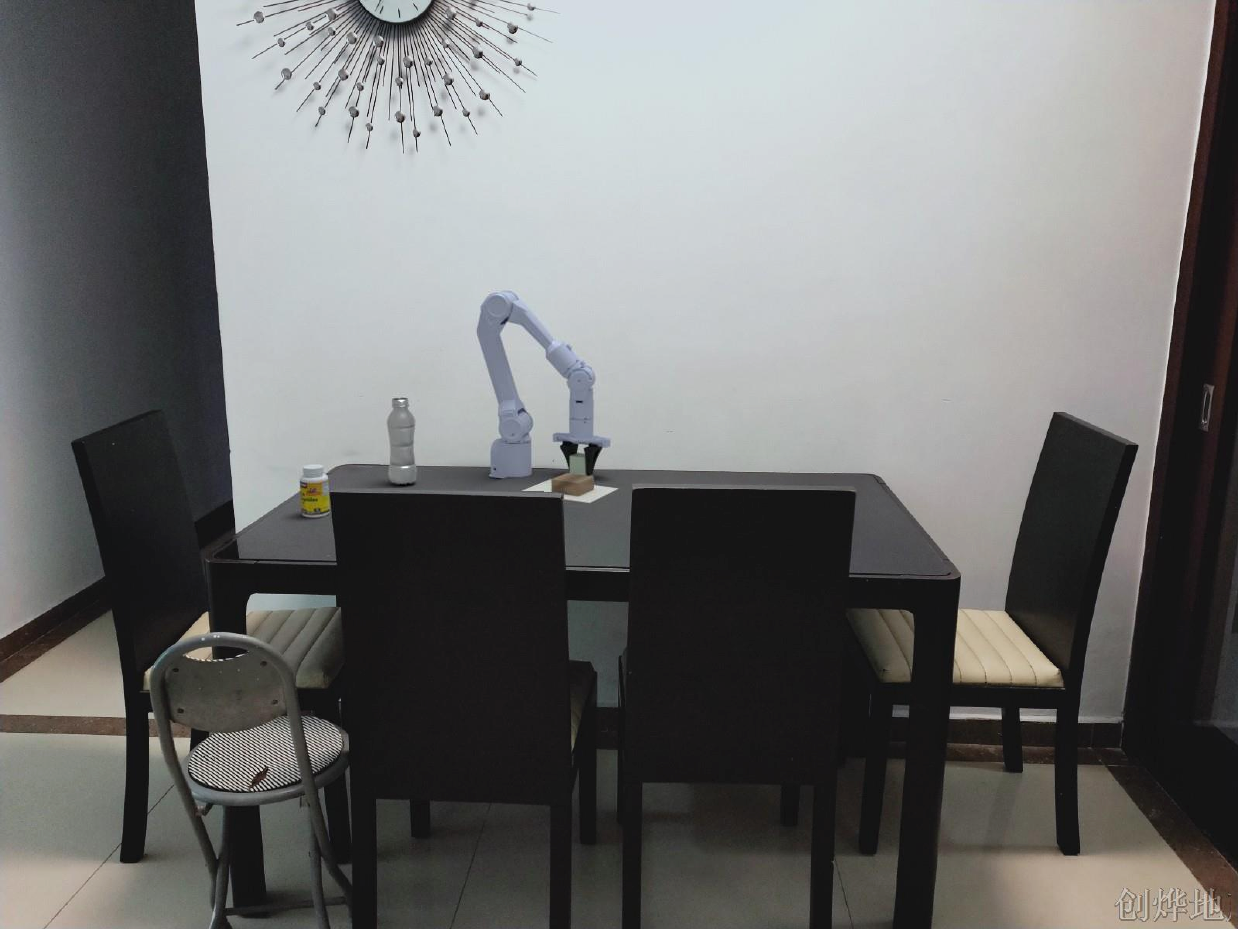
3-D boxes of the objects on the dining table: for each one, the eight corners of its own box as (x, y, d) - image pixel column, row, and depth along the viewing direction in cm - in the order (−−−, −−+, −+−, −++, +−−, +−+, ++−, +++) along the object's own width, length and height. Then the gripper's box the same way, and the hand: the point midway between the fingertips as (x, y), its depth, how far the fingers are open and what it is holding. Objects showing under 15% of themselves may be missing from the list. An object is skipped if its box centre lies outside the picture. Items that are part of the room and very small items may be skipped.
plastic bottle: (382, 485, 218) (379, 399, 213) (400, 479, 224) (396, 395, 219) (406, 488, 215) (403, 401, 211) (423, 482, 222) (420, 397, 217)
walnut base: (551, 492, 211) (551, 479, 210) (566, 485, 217) (566, 473, 216) (578, 496, 208) (579, 483, 207) (593, 489, 214) (593, 476, 213)
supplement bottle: (296, 517, 192) (292, 468, 190) (312, 510, 197) (309, 462, 195) (319, 519, 190) (316, 470, 188) (335, 512, 196) (332, 464, 193)
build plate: (518, 495, 211) (518, 492, 210) (550, 482, 223) (550, 479, 223) (589, 506, 203) (589, 502, 203) (618, 491, 215) (618, 488, 215)
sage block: (569, 480, 225) (569, 455, 224) (577, 476, 229) (577, 452, 227) (584, 482, 223) (584, 457, 222) (592, 478, 227) (592, 454, 225)
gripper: (546, 417, 222) (546, 473, 225) (600, 423, 216) (600, 481, 219) (561, 413, 228) (561, 467, 231) (614, 418, 222) (613, 474, 225)
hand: (581, 473), depth 226 cm, fingers closed on sage block, 4 cm apart
